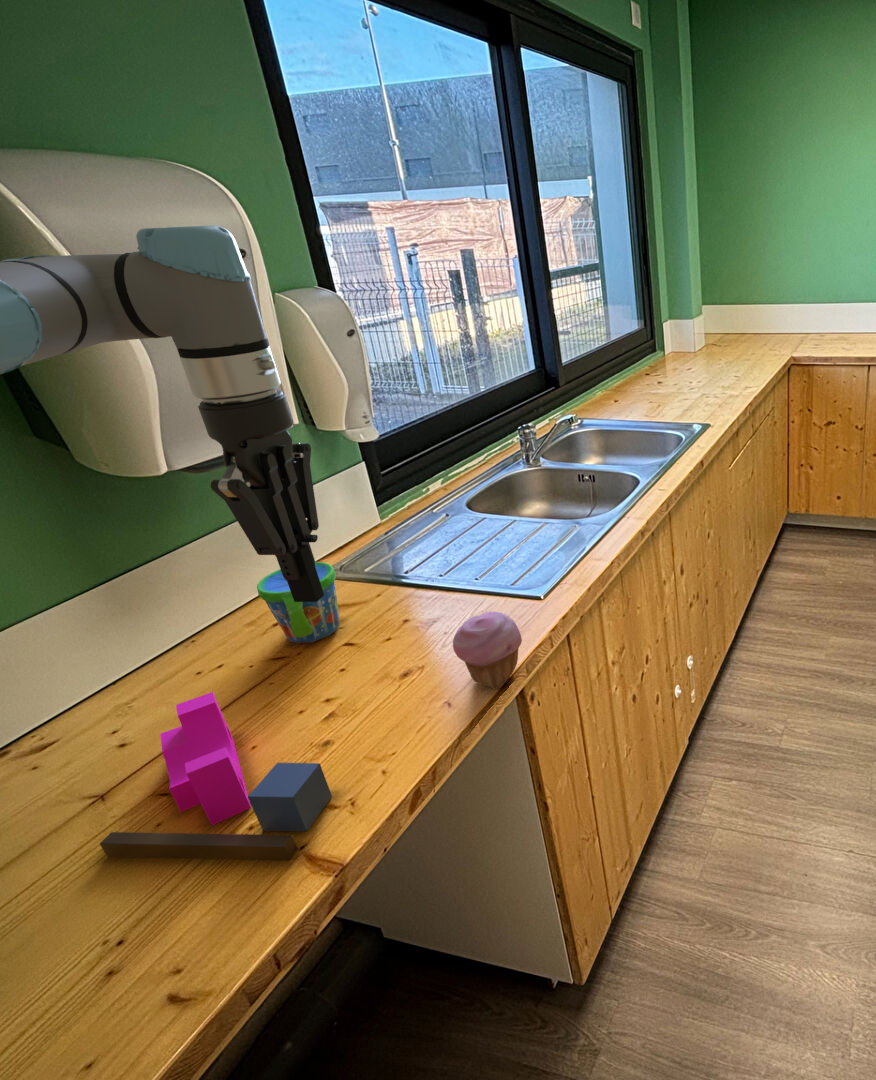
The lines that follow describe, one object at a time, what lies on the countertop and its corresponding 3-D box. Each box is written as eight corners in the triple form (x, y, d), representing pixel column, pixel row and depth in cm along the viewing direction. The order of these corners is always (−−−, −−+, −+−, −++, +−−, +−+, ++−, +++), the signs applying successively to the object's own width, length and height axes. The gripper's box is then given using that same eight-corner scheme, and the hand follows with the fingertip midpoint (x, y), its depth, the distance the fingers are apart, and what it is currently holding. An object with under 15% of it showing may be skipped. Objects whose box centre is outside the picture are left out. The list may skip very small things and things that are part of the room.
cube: (262, 831, 75) (247, 796, 73) (290, 795, 80) (276, 762, 78) (306, 831, 75) (292, 797, 73) (332, 796, 80) (319, 762, 78)
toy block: (174, 762, 86) (150, 714, 83) (233, 739, 89) (212, 691, 86) (184, 837, 75) (157, 785, 72) (250, 807, 79) (228, 757, 75)
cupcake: (450, 688, 97) (434, 627, 93) (493, 654, 104) (481, 596, 100) (499, 704, 93) (485, 642, 89) (540, 668, 100) (530, 609, 96)
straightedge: (107, 857, 73) (99, 843, 72) (119, 845, 74) (111, 831, 74) (289, 860, 72) (283, 846, 71) (298, 848, 73) (292, 834, 72)
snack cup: (289, 614, 117) (270, 560, 113) (357, 602, 120) (341, 549, 116) (265, 666, 104) (242, 607, 99) (342, 651, 106) (323, 593, 102)
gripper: (231, 411, 64) (307, 629, 74) (314, 379, 75) (369, 571, 86) (154, 412, 64) (240, 629, 74) (248, 380, 76) (311, 571, 86)
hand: (309, 598), depth 80 cm, fingers closed
